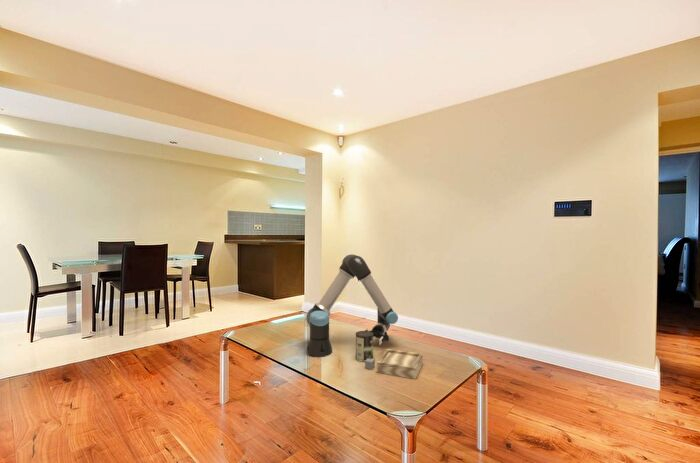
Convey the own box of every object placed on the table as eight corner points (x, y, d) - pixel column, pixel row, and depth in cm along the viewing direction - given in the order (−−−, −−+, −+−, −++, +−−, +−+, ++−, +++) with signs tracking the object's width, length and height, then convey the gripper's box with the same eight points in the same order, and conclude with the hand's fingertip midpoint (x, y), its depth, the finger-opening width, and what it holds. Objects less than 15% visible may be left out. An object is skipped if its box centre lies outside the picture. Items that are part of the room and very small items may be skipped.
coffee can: (374, 355, 184) (374, 331, 184) (372, 362, 174) (372, 336, 174) (357, 353, 186) (357, 330, 186) (353, 360, 176) (354, 335, 176)
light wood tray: (376, 372, 162) (376, 362, 162) (387, 357, 180) (387, 348, 180) (415, 379, 154) (415, 368, 154) (422, 363, 173) (422, 353, 173)
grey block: (365, 368, 166) (365, 361, 166) (367, 365, 170) (367, 358, 170) (372, 369, 165) (372, 362, 165) (374, 366, 168) (374, 359, 168)
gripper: (397, 338, 199) (389, 350, 180) (360, 333, 209) (348, 344, 189) (397, 326, 200) (389, 337, 180) (360, 322, 209) (348, 331, 189)
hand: (368, 340), depth 184 cm, fingers open, 13 cm apart
